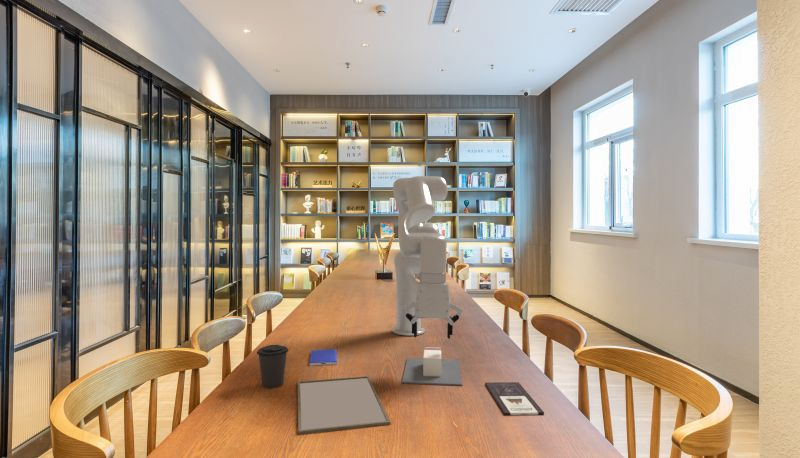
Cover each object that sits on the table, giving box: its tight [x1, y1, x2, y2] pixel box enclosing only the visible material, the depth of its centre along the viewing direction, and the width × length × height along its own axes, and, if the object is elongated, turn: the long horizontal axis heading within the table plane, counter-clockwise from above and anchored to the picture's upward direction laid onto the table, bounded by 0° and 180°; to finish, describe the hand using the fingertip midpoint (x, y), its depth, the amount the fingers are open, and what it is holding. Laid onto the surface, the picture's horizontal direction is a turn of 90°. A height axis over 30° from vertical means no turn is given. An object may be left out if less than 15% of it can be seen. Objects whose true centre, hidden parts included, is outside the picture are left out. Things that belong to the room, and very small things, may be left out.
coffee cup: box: [256, 344, 289, 389], centre depth 114 cm, size 8×8×10 cm
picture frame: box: [297, 375, 391, 435], centre depth 104 cm, size 19×1×28 cm
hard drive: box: [309, 348, 338, 367], centre depth 136 cm, size 2×8×12 cm
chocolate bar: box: [484, 381, 545, 416], centre depth 106 cm, size 9×1×18 cm
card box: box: [422, 346, 443, 377], centre depth 125 cm, size 10×5×5 cm, turn 175°
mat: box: [401, 357, 463, 387], centre depth 125 cm, size 20×16×1 cm
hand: (432, 336), depth 125 cm, fingers open, 9 cm apart
